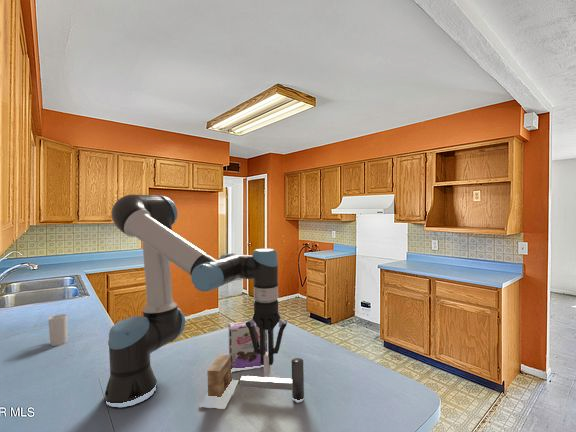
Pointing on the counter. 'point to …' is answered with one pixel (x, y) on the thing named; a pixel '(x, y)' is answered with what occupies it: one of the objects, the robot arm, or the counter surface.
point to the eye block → (219, 375)
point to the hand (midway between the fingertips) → (267, 374)
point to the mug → (58, 329)
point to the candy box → (243, 346)
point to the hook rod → (280, 381)
